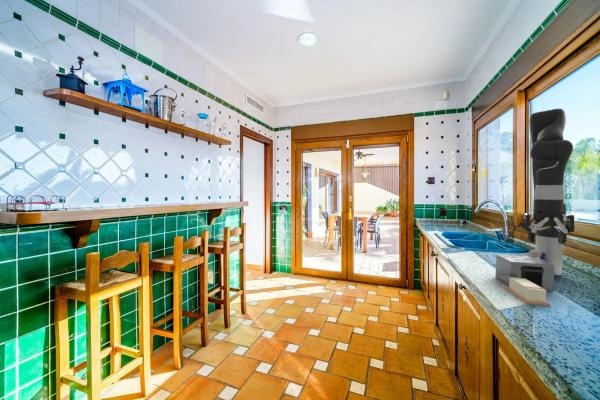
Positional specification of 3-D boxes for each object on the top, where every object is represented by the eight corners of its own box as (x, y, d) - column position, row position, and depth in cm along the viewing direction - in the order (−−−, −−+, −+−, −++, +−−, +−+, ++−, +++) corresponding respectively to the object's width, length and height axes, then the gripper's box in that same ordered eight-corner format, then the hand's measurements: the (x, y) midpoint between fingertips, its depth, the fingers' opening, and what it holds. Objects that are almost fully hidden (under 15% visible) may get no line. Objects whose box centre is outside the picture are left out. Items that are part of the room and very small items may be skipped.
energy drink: (548, 280, 110) (549, 252, 110) (533, 279, 111) (535, 252, 111) (539, 276, 116) (540, 250, 115) (525, 275, 117) (526, 249, 116)
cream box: (509, 287, 100) (509, 276, 100) (524, 288, 99) (524, 278, 98) (528, 300, 88) (528, 288, 88) (545, 302, 87) (546, 290, 87)
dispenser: (495, 276, 114) (496, 254, 114) (534, 280, 110) (535, 256, 110) (510, 287, 102) (511, 262, 101) (554, 291, 98) (555, 265, 98)
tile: (505, 288, 101) (505, 286, 101) (526, 290, 99) (526, 288, 99) (525, 303, 88) (525, 300, 88) (550, 305, 86) (550, 303, 86)
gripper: (565, 197, 93) (563, 241, 94) (518, 197, 97) (517, 239, 98) (582, 198, 86) (579, 246, 87) (530, 198, 89) (528, 244, 90)
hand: (546, 243), depth 92 cm, fingers open, 8 cm apart
